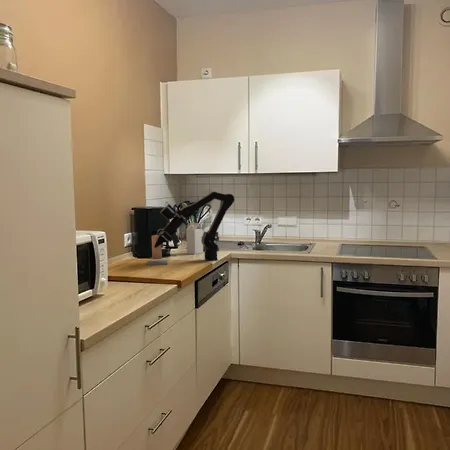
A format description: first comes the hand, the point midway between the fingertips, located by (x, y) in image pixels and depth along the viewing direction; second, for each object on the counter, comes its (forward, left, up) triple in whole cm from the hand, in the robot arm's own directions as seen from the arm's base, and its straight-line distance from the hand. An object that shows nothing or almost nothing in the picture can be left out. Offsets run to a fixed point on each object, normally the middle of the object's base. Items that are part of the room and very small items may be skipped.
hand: (154, 246), depth 253 cm
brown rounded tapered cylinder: (-1, 0, -7) cm, 7 cm away
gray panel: (-1, 0, -9) cm, 9 cm away
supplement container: (-34, -43, -9) cm, 56 cm away
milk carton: (-23, -33, -9) cm, 42 cm away
